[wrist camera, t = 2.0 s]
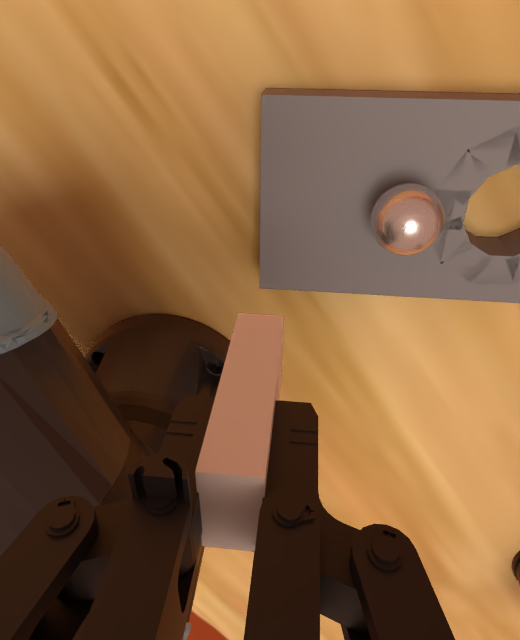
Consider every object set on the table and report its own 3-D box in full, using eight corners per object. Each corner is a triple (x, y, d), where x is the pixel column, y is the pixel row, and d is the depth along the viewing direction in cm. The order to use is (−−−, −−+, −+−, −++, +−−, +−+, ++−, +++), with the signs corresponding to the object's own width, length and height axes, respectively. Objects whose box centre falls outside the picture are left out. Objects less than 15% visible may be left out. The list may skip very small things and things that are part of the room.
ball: (363, 237, 30) (369, 265, 26) (372, 173, 27) (379, 194, 24) (429, 240, 29) (443, 269, 26) (443, 175, 27) (460, 198, 24)
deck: (263, 268, 35) (259, 288, 32) (266, 87, 28) (261, 94, 26) (547, 284, 33) (566, 305, 31) (619, 96, 27) (650, 104, 24)
